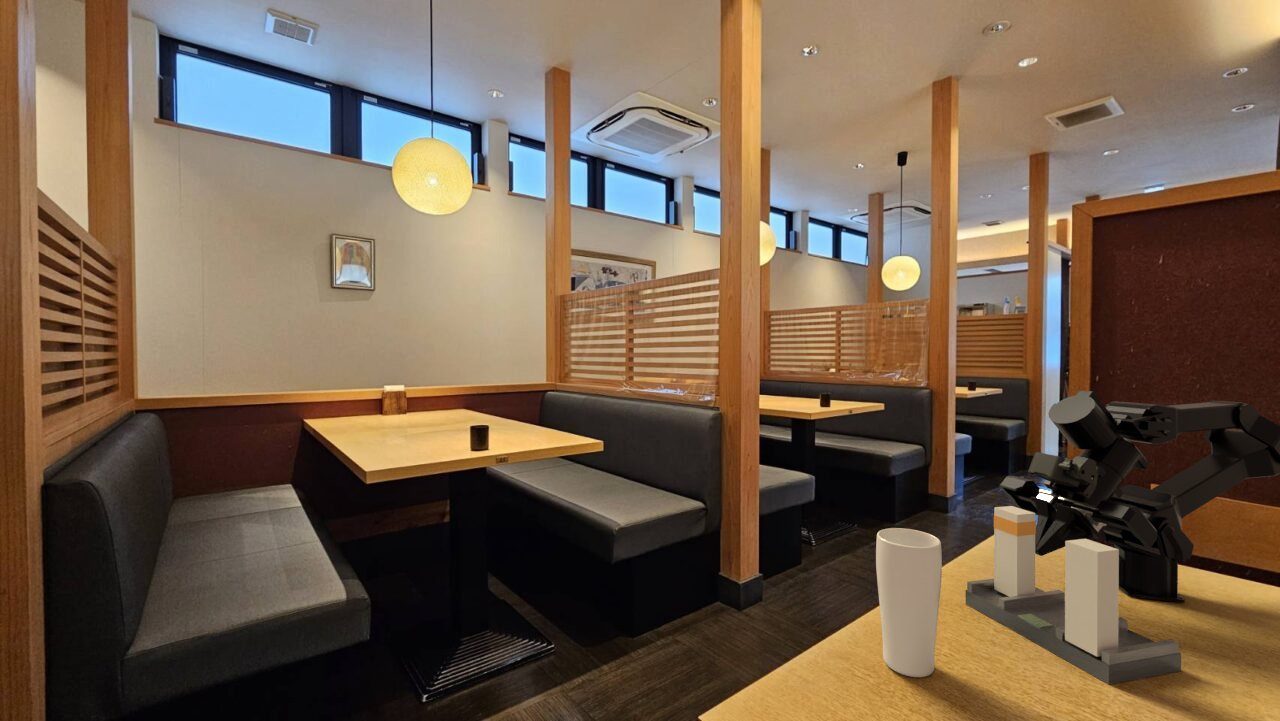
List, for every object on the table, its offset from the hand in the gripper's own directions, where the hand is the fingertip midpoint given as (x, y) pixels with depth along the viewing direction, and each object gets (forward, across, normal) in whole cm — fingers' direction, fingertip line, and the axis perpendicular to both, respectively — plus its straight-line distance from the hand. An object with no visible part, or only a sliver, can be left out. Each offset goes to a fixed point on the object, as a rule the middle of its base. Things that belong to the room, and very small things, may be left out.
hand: (1036, 553), depth 76 cm
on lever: (+9, +13, -1) cm, 16 cm away
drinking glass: (+25, +8, -14) cm, 30 cm away
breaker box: (+8, +6, +3) cm, 11 cm away
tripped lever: (+6, 0, +1) cm, 7 cm away
